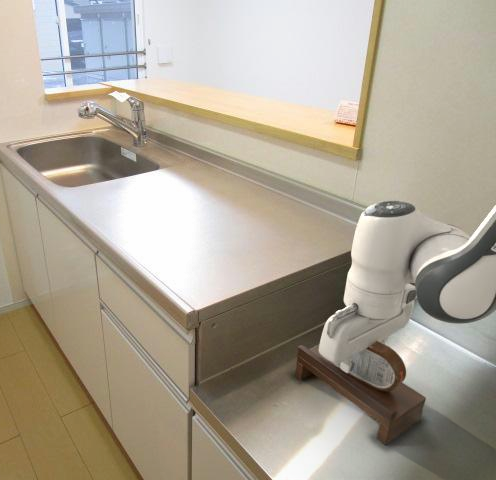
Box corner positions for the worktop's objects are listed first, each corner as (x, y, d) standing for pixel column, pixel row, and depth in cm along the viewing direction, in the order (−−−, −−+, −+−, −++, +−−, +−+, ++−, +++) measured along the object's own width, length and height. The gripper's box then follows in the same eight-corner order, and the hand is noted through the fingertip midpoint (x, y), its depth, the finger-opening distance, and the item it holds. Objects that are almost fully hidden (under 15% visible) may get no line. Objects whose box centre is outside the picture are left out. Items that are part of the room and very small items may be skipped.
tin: (402, 393, 78) (411, 354, 74) (393, 402, 76) (403, 362, 72) (324, 352, 88) (330, 316, 84) (315, 359, 86) (320, 322, 83)
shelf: (329, 357, 94) (333, 329, 91) (420, 419, 79) (429, 388, 76) (294, 375, 89) (298, 346, 86) (384, 445, 74) (392, 413, 71)
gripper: (347, 325, 68) (335, 396, 73) (425, 286, 77) (409, 351, 83) (314, 306, 72) (305, 373, 78) (392, 272, 82) (379, 334, 88)
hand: (360, 362), depth 81 cm, fingers open, 6 cm apart
